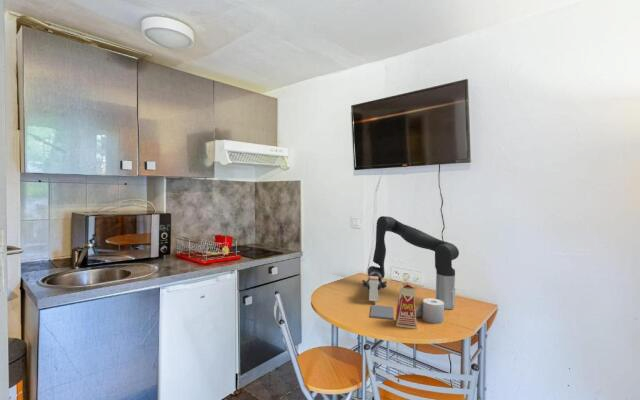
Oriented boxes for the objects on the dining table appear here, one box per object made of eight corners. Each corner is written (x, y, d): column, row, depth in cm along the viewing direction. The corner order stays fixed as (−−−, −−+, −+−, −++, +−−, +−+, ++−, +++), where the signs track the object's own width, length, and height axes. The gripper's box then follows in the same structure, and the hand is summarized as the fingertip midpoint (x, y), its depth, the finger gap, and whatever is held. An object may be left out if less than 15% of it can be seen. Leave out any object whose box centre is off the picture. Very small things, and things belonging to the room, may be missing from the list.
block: (378, 298, 174) (378, 276, 174) (377, 301, 170) (378, 278, 170) (369, 297, 175) (369, 276, 175) (369, 300, 171) (369, 278, 170)
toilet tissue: (411, 316, 155) (412, 299, 155) (436, 315, 158) (437, 298, 158) (420, 324, 147) (421, 305, 146) (447, 323, 149) (448, 304, 149)
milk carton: (417, 328, 142) (419, 283, 141) (396, 326, 144) (397, 282, 143) (415, 320, 151) (417, 278, 150) (395, 318, 152) (396, 276, 152)
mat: (371, 306, 168) (371, 304, 168) (393, 308, 166) (393, 306, 166) (369, 317, 153) (370, 315, 153) (393, 319, 151) (393, 318, 151)
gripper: (362, 272, 188) (360, 280, 171) (387, 273, 185) (387, 281, 168) (362, 285, 188) (359, 294, 171) (387, 286, 185) (387, 296, 168)
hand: (373, 288), depth 170 cm, fingers closed on block, 4 cm apart
